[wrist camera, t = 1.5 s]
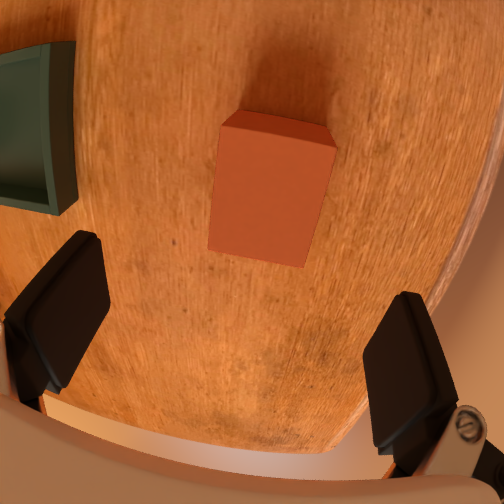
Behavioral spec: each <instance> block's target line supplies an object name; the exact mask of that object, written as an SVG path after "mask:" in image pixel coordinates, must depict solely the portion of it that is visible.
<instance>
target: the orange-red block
mask: <svg viewBox="0 0 504 504" xmlns="http://www.w3.org/2000/svg"><path fill="white" fill-rule="evenodd" d="M337 149H338V148H337V146H336V144H335V142H334V140H333V138H332V136H331V134H330V132H329V130H328V129H327V127H326V126H322V125H318V124H313V123H309V122H304V121H299V120H295V119H290V118H285V117H280V116H274V115H269V114H263V113H257V112H251V111H245V110H237V111H236V112H235V113H234V114H232V115H231V116H230V117H229V118H228V119H227V120H226V121H225V122H224V123H223V124H222V125H221V128H220V136H219V144H218V152H217V160H216V169H215V178H214V187H213V197H212V206H211V216H210V227H209V238H208V250H209V251H214V252H219V253H225V254H230V255H235V256H240V257H245V258H250V259H256V260H261V261H266V262H271V263H276V264H282V265H287V266H292V267H297V268H303V267H304V264H305V261H306V258H307V255H308V252H309V248H310V245H311V242H312V238H313V235H314V232H315V228H316V225H317V221H318V218H319V215H320V211H321V208H322V204H323V201H324V197H325V194H326V190H327V186H328V183H329V179H330V175H331V172H332V168H333V164H334V160H335V157H336V153H337Z"/></svg>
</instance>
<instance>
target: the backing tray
mask: <svg viewBox="0 0 504 504" xmlns="http://www.w3.org/2000/svg"><path fill="white" fill-rule="evenodd" d="M75 43H76V41H63V42H51V43H46V44H41V45H36V46H32V47H27V48H23V49H19V50H15V51H11V52H8V53H4V54H1V55H0V205H4V206H9V207H15V208H20V209H25V210H30V211H35V212H40V213H45V214H51V215H55V216H60V215H61V214H62V213H63V212H64V211H66V210H67V209H68V208H69V207H70V206H71V205H73V204H74V203H75V202H76V201H77V200H78V193H77V183H76V172H75V158H74V141H73V72H74V55H75Z"/></svg>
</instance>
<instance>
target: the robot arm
mask: <svg viewBox="0 0 504 504" xmlns="http://www.w3.org/2000/svg"><path fill="white" fill-rule="evenodd" d="M110 303H111V302H110V296H109V290H108V284H107V278H106V272H105V266H104V259H103V252H102V244H101V240H100V239H99V238H97V235H96V234H95V233H93V232H88V231H83V230H78V231H77V232H76V233H75V234H74V235H73V236H72V237H71V238H70V239H69V240H68V241H67V242H66V243H65V244H64V245H63V246H62V247H61V248H60V249H59V250H58V251H57V252H56V254H55V255H54V256H53V257H52V258H51V259H50V260H49V261H48V262H47V263H46V264H45V266H44V267H43V268H42V269H41V270H40V271H39V272H38V273H37V275H36V276H35V277H34V278H33V279H32V280H31V282H30V283H29V284H28V285H27V286H26V287H25V289H24V290H23V291H22V292H21V293H20V295H19V296H18V297H17V298H16V300H15V301H14V302H13V303H12V305H11V306H10V307H9V308H8V310H7V311H6V312H5V313H4V315H5V317H6V318H5V319H4V321H3V322H2V321H1V319H0V504H504V454H503V453H502V452H501V451H500V450H498V449H497V448H496V447H495V446H494V445H493V444H491V443H490V442H489V441H488V440H486V436H487V424H486V422H485V419H484V417H483V416H482V414H481V413H480V412H479V411H478V410H477V409H476V408H474V407H472V406H469V405H462V406H460V407H458V408H457V404H456V402H457V401H458V400H459V399H458V395H457V392H456V389H455V386H454V382H453V380H452V377H451V373H450V370H449V367H448V364H447V361H446V359H445V356H444V353H443V350H442V347H441V345H440V342H439V339H438V336H437V334H436V331H435V329H434V326H433V324H432V321H431V318H430V316H429V314H428V311H427V309H426V306H425V304H424V302H423V299H422V297H421V295H420V294H418V293H413V292H407V291H403V292H401V293H400V295H396V296H395V297H394V299H393V301H392V303H391V304H390V306H389V308H388V310H387V312H386V313H385V315H384V317H383V319H382V320H381V322H380V324H379V326H378V327H377V329H376V331H375V332H374V334H373V336H372V337H371V339H370V341H369V342H368V344H367V346H366V347H365V349H364V352H363V364H364V371H365V377H366V384H367V391H368V399H369V407H370V415H371V424H372V433H373V442H374V445H375V447H378V454H379V455H393V458H394V462H393V464H392V465H391V466H390V468H389V469H388V471H387V472H386V474H385V475H384V476H383V478H382V479H377V480H351V481H350V480H349V481H321V480H297V479H282V478H271V477H262V476H253V475H245V474H238V473H232V472H225V471H219V470H213V469H208V468H203V467H198V466H193V465H189V464H185V463H181V462H176V461H172V460H168V459H165V458H161V457H157V456H153V455H150V454H146V453H143V452H140V451H136V450H133V449H130V448H127V447H124V446H121V445H118V444H115V443H112V442H109V441H106V440H103V439H101V438H98V437H96V436H93V435H91V434H88V433H86V432H83V431H81V430H78V429H76V428H73V427H71V426H68V425H66V424H64V423H62V422H60V421H57V420H55V419H53V418H51V417H49V416H47V413H46V409H45V405H44V401H43V396H42V394H43V392H44V390H45V389H47V390H49V391H51V392H53V393H56V394H58V395H59V393H60V391H61V389H62V388H66V387H67V386H68V384H69V382H70V380H71V378H72V376H73V374H74V372H75V370H76V369H77V367H78V365H79V363H80V361H81V359H82V357H83V355H84V354H85V352H86V350H87V348H88V346H89V344H90V343H91V341H92V339H93V337H94V336H95V334H96V332H97V330H98V328H99V327H100V325H101V323H102V321H103V320H104V318H105V316H106V315H107V313H108V311H109V309H110Z"/></svg>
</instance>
